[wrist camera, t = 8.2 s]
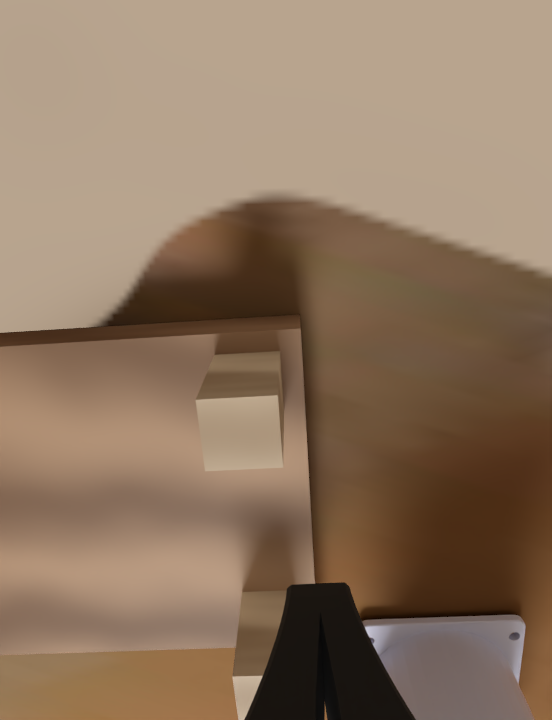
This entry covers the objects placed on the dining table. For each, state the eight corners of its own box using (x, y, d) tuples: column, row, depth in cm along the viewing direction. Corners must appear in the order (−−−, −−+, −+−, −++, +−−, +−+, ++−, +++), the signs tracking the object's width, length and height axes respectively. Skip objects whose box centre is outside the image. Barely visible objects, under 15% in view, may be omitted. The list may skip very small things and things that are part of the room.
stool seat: (315, 609, 25) (324, 735, 19) (-63, 623, 26) (-162, 747, 20) (299, 314, 20) (304, 367, 14) (-170, 343, 21) (-340, 404, 15)
